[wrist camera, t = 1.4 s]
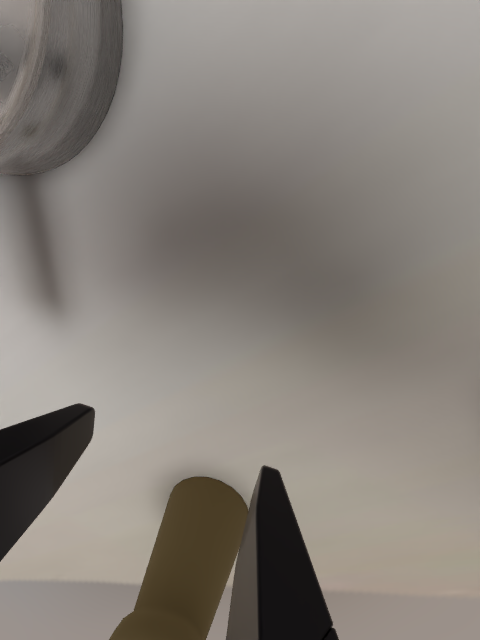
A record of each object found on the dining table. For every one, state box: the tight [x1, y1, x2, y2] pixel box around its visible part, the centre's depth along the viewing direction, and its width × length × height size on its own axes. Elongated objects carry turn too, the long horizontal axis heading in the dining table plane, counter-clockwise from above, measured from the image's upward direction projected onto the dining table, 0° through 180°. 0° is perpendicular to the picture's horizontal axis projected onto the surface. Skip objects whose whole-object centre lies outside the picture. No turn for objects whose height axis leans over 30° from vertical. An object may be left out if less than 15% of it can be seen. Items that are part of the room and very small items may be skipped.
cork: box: [109, 477, 248, 640], centre depth 20 cm, size 6×6×11 cm
